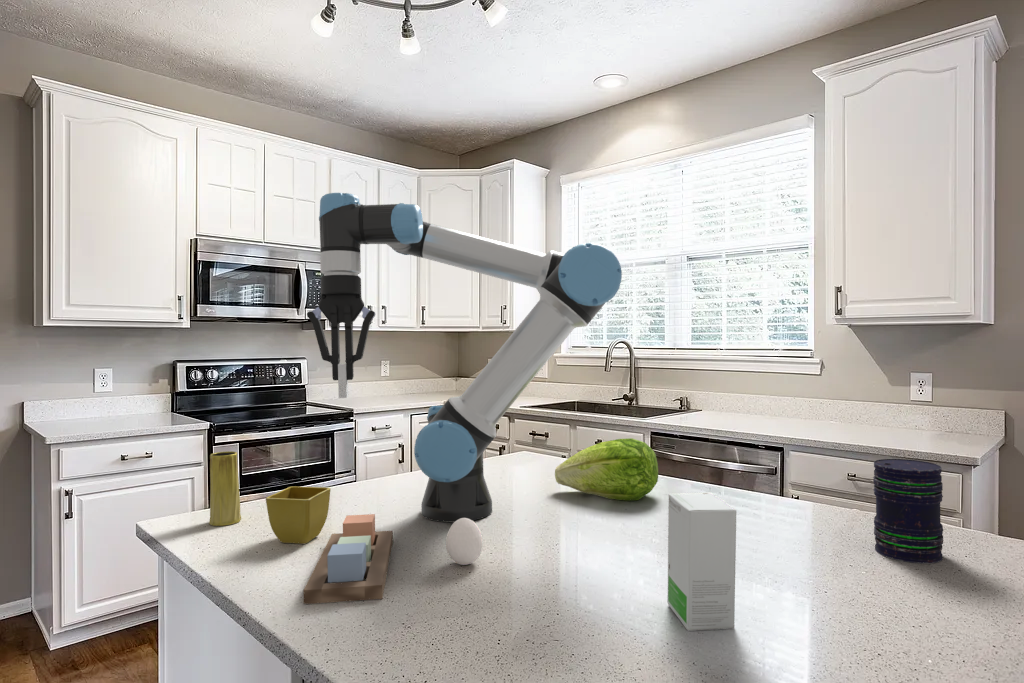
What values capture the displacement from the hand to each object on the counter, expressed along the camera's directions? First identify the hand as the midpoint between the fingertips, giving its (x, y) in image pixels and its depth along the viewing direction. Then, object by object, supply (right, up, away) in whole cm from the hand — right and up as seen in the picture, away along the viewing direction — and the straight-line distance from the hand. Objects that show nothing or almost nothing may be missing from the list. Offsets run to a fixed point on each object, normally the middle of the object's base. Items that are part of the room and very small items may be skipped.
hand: (343, 397), depth 122 cm
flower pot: (-7, -27, -4) cm, 28 cm away
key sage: (+7, -26, -19) cm, 33 cm away
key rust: (+6, -24, -11) cm, 27 cm away
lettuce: (+55, -26, +26) cm, 65 cm away
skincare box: (+58, -26, -39) cm, 74 cm away
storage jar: (+99, -25, -16) cm, 104 cm away
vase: (-27, -27, +9) cm, 39 cm away
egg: (+25, -26, -18) cm, 40 cm away
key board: (+7, -26, -19) cm, 33 cm away
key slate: (+8, -25, -27) cm, 37 cm away
